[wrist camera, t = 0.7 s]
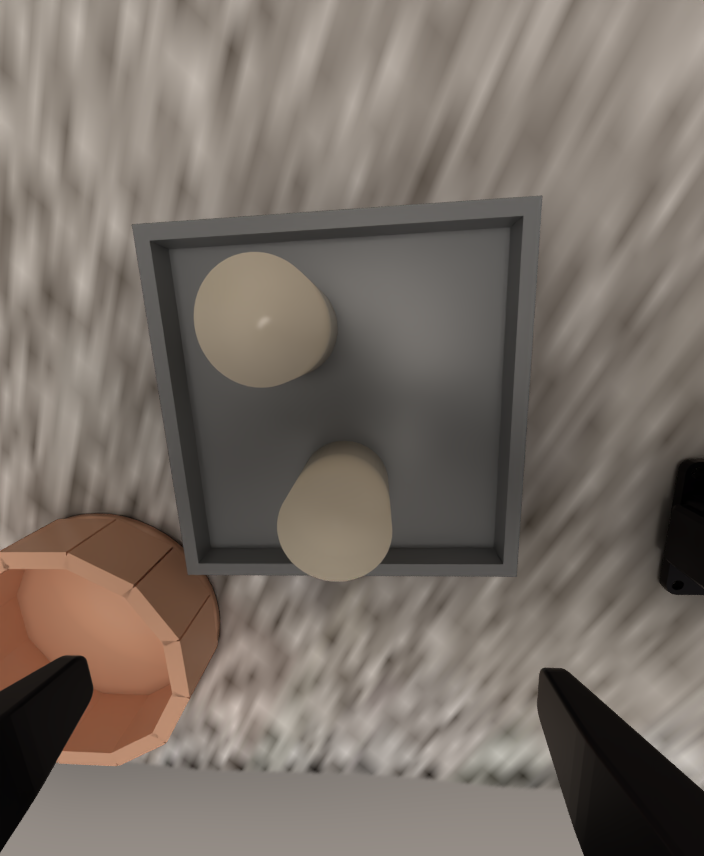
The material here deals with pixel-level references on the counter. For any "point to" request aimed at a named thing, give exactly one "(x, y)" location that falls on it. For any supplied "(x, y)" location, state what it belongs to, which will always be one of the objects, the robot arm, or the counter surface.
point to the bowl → (109, 627)
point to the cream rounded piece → (338, 513)
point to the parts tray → (359, 380)
